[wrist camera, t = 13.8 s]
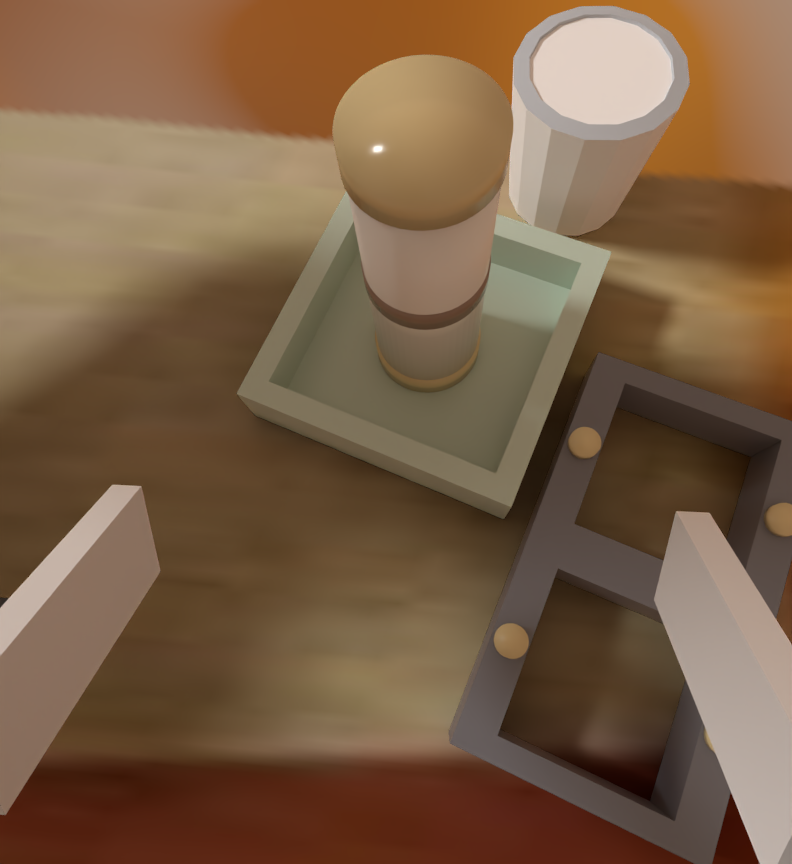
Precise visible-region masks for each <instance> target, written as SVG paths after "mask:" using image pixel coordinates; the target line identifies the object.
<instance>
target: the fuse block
mask: <svg viewBox="0 0 792 864" xmlns="http://www.w3.org/2000/svg"><path fill="white" fill-rule="evenodd" d="M616 407H618V408H620V409H623V410H626V411H628V412H631V413H634V414H636V415H639V416H642V417H645V418H647V419H650V420H653V421H655V422H658V423H661V424H663V425H666V426H669V427H671V428H674V429H677V430H679V431H682V432H685V433H688V434H690V435H693V436H696V437H698V438H701V439H704V440H706V441H709V442H712V443H714V444H717V445H720V446H722V447H725V448H728V449H731V450H733V451H736V452H739V453H741V454H744V455H747V456H749V457H751V458H750V461H749V465H748V468H747V472H746V475H745V479H744V482H743V485H742V489H741V492H740V496H739V499H738V502H737V506H736V509H735V513H734V516H733V519H732V523H731V526H730V530H729V533H728V537H727V542H728V543H729V545H730V546H731V548H732V550H733V551H734V553H735V554H736V556H737V558H738V559H739V561H740V562H741V564H742V566H743V567H744V569H745V570H746V572H747V574H748V575H749V577H750V578H751V580H752V582H753V583H754V585H755V586H756V588H757V590H758V591H759V593H760V594H761V596H762V598H763V599H764V601H765V602H766V604H767V606H768V607H769V609H770V610H771V612H772V614H773V615H774V617H775V618H776V617H777V613H778V610H779V606H780V602H781V598H782V594H783V591H784V587H785V583H786V579H787V575H788V572H789V568H790V564H791V560H792V421H790V420H787V419H784V418H782V417H779V416H776V415H773V414H770V413H768V412H765V411H762V410H759V409H756V408H754V407H751V406H748V405H745V404H742V403H740V402H737V401H734V400H731V399H728V398H726V397H723V396H720V395H717V394H715V393H712V392H709V391H706V390H703V389H701V388H698V387H695V386H692V385H689V384H687V383H684V382H681V381H678V380H675V379H673V378H670V377H667V376H664V375H661V374H659V373H656V372H653V371H650V370H647V369H645V368H642V367H639V366H636V365H634V364H631V363H628V362H625V361H622V360H620V359H617V358H614V357H611V356H608V355H606V354H603V353H600V352H598V354H597V356H596V357H595V359H594V361H593V363H592V364H591V366H590V368H589V369H588V371H587V373H586V374H585V376H584V379H583V382H582V384H581V387H580V389H579V392H578V395H577V397H576V400H575V402H574V405H573V408H572V410H571V413H570V416H569V418H568V421H567V423H566V426H565V429H564V431H563V434H562V436H561V439H560V442H559V444H558V447H557V450H556V452H555V455H554V457H553V460H552V463H551V465H550V468H549V470H548V473H547V476H546V478H545V481H544V484H543V486H542V489H541V491H540V494H539V497H538V499H537V502H536V504H535V507H534V510H533V512H532V515H531V518H530V520H529V523H528V525H527V528H526V531H525V533H524V536H523V538H522V541H521V544H520V546H519V549H518V552H517V554H516V557H515V559H514V562H513V565H512V567H511V570H510V572H509V575H508V578H507V580H506V583H505V586H504V588H503V591H502V593H501V596H500V599H499V601H498V604H497V606H496V609H495V612H494V614H493V617H492V620H491V622H490V625H489V627H488V630H487V633H486V635H485V638H484V640H483V643H482V646H481V648H480V651H479V654H478V656H477V659H476V661H475V664H474V667H473V669H472V672H471V674H470V677H469V680H468V682H467V685H466V688H465V690H464V693H463V695H462V698H461V701H460V703H459V706H458V708H457V711H456V714H455V716H454V719H453V722H452V724H451V727H450V729H449V740H450V744H452V745H454V746H456V747H458V748H460V749H462V750H464V751H466V752H468V753H471V754H473V755H475V756H477V757H479V758H481V759H483V760H485V761H487V762H489V763H491V764H493V765H495V766H497V767H499V768H501V769H503V770H505V771H507V772H509V773H511V774H513V775H515V776H517V777H519V778H521V779H523V780H525V781H527V782H529V783H532V784H534V785H536V786H538V787H540V788H542V789H544V790H546V791H548V792H550V793H552V794H554V795H556V796H558V797H560V798H562V799H564V800H566V801H568V802H570V803H572V804H574V805H576V806H578V807H580V808H582V809H584V810H586V811H588V812H590V813H593V814H595V815H597V816H599V817H601V818H603V819H605V820H607V821H609V822H611V823H613V824H615V825H617V826H619V827H621V828H623V829H625V830H627V831H629V832H631V833H633V834H635V835H637V836H639V837H641V838H643V839H645V840H647V841H649V842H651V843H654V844H656V845H658V846H660V847H662V848H664V849H666V850H668V851H670V852H672V853H674V854H676V855H678V856H680V857H682V858H684V859H686V860H688V861H690V862H692V863H694V864H712V861H713V858H714V854H715V850H716V846H717V842H718V839H719V835H720V831H721V827H722V823H723V819H724V816H725V812H726V808H727V804H728V800H729V797H730V793H731V791H730V788H729V786H728V783H727V781H726V778H725V776H724V773H723V771H722V768H721V766H720V763H719V761H718V758H717V756H716V753H715V751H714V748H713V746H712V743H711V741H710V738H709V736H708V733H707V731H706V729H705V726H704V724H703V721H702V719H701V716H700V714H699V711H698V709H697V706H696V704H695V701H694V699H693V696H692V694H691V691H690V689H689V686H688V684H687V681H686V680H685V683H684V687H683V690H682V694H681V697H680V700H679V704H678V707H677V711H676V714H675V717H674V721H673V724H672V728H671V731H670V735H669V738H668V741H667V745H666V748H665V752H664V755H663V758H662V762H661V765H660V769H659V772H658V776H657V779H656V782H655V786H654V789H653V793H652V796H651V799H650V801H648V800H646V799H644V798H642V797H640V796H638V795H636V794H634V793H632V792H630V791H628V790H625V789H623V788H621V787H619V786H617V785H615V784H613V783H611V782H609V781H607V780H605V779H603V778H601V777H598V776H596V775H594V774H592V773H590V772H588V771H586V770H584V769H582V768H580V767H578V766H576V765H573V764H571V763H569V762H567V761H565V760H563V759H561V758H559V757H557V756H555V755H553V754H551V753H548V752H546V751H544V750H542V749H540V748H538V747H536V746H534V745H532V744H530V743H528V742H526V741H523V740H521V739H519V738H517V737H515V736H513V735H511V734H509V733H507V732H505V731H503V730H501V729H500V727H501V725H502V722H503V719H504V716H505V713H506V711H507V708H508V705H509V702H510V700H511V697H512V694H513V691H514V689H515V686H516V683H517V680H518V678H519V675H520V672H521V669H522V667H523V664H524V661H525V658H526V655H527V653H528V650H529V647H530V644H531V642H532V639H533V636H534V633H535V631H536V628H537V625H538V622H539V620H540V617H541V614H542V611H543V609H544V606H545V603H546V600H547V597H548V595H549V592H550V589H551V586H552V584H553V581H554V578H557V579H560V580H562V581H564V582H567V583H569V584H571V585H574V586H576V587H578V588H581V589H583V590H585V591H588V592H590V593H592V594H595V595H597V596H599V597H602V598H604V599H606V600H609V601H611V602H613V603H616V604H618V605H620V606H623V607H625V608H627V609H630V610H632V611H634V612H637V613H639V614H641V615H644V616H646V617H648V618H651V619H653V620H655V621H658V622H660V623H662V624H663V621H662V619H661V616H660V614H659V611H658V609H657V606H656V604H655V601H654V597H655V593H656V589H657V585H658V581H659V577H660V573H661V569H662V565H663V560H661V559H659V558H656V557H654V556H651V555H649V554H646V553H644V552H642V551H639V550H637V549H634V548H632V547H629V546H627V545H624V544H622V543H620V542H617V541H615V540H612V539H610V538H607V537H605V536H603V535H600V534H598V533H595V532H593V531H590V530H588V529H585V528H583V527H581V526H578V525H576V524H574V523H575V520H576V517H577V515H578V512H579V509H580V506H581V504H582V501H583V498H584V495H585V493H586V490H587V487H588V484H589V481H590V479H591V476H592V473H593V470H594V468H595V465H596V462H597V459H598V457H599V454H600V451H601V448H602V446H603V443H604V440H605V437H606V435H607V432H608V429H609V426H610V423H611V421H612V418H613V415H614V412H615V410H616Z"/></svg>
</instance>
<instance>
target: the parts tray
mask: <svg viewBox="0 0 792 864" xmlns="http://www.w3.org/2000/svg"><path fill="white" fill-rule="evenodd" d="M610 255H611V251H608V250H605V249H602V248H599V247H596V246H593V245H590V244H587V243H584V242H580V241H577V240H574V239H571V238H568V237H565V236H562V235H559V234H556V233H553V232H550V231H547V230H544V229H541V228H538V227H535V226H532V225H529V224H526V223H523V222H520V221H516V220H513V219H510V218H507V217H504V216H501V215H498V214H497V216H496V223H495V229H494V236H493V243H492V249H491V266H490V273H489V279H488V284H487V288H486V291H485V296H484V303H483V310H482V316H481V323H480V330H481V339H480V345H479V351H478V357H477V360H476V363H475V365H474V366H473V368H472V370H471V371H470V373H469V374H468V375H467V376H466V377H465V378H464V379H463V380H462V381H461V382H459V383H458V384H456V385H455V386H453V387H451V388H448V389H446V390H443V391H438V392H430V393H425V392H417V391H412V390H409V389H407V388H404V387H402V386H401V385H399V384H397V383H396V382H395V381H393V380H392V379H391V378H390V377H389V376H388V375H387V373H386V372H385V370H384V369H383V367H382V365H381V363H380V360H379V357H378V352H377V347H376V342H375V326H374V321H373V316H372V311H371V306H370V301H369V296H368V294H367V291H366V288H365V283H364V278H363V273H362V268H361V256H360V251H359V246H358V241H357V236H356V231H355V226H354V221H353V216H352V211H351V206H350V201H349V196H348V193H347V191H346V192H345V194H344V196H343V198H342V200H341V202H340V203H339V205H338V207H337V209H336V211H335V213H334V214H333V216H332V218H331V220H330V222H329V224H328V225H327V227H326V229H325V231H324V233H323V235H322V237H321V238H320V240H319V242H318V244H317V246H316V248H315V249H314V251H313V253H312V255H311V257H310V259H309V261H308V262H307V264H306V266H305V268H304V270H303V272H302V273H301V275H300V277H299V279H298V281H297V283H296V285H295V286H294V288H293V290H292V292H291V294H290V296H289V297H288V299H287V301H286V303H285V305H284V307H283V309H282V310H281V312H280V314H279V316H278V318H277V320H276V321H275V323H274V325H273V327H272V329H271V331H270V333H269V334H268V336H267V338H266V340H265V342H264V344H263V345H262V347H261V349H260V351H259V353H258V355H257V356H256V358H255V360H254V362H253V364H252V366H251V368H250V369H249V371H248V373H247V375H246V377H245V379H244V380H243V382H242V384H241V386H240V388H239V390H238V392H237V393H236V394H237V395H238V396H239V397H240V399H241V400H242V401H243V402H244V403H245V404H246V406H247V407H248V408H249V409H250V410H251V411H252V413H253V414H254V415H255V416H257V417H259V418H262V419H264V420H267V421H269V422H271V423H274V424H276V425H279V426H281V427H283V428H286V429H288V430H291V431H293V432H295V433H298V434H300V435H303V436H305V437H307V438H310V439H312V440H314V441H317V442H319V443H322V444H324V445H326V446H329V447H331V448H334V449H336V450H338V451H341V452H343V453H346V454H348V455H350V456H353V457H355V458H358V459H360V460H362V461H365V462H367V463H370V464H372V465H374V466H377V467H379V468H382V469H384V470H386V471H389V472H391V473H393V474H396V475H398V476H401V477H403V478H405V479H408V480H410V481H413V482H415V483H417V484H420V485H422V486H425V487H427V488H429V489H432V490H434V491H437V492H439V493H441V494H444V495H446V496H449V497H451V498H453V499H456V500H458V501H461V502H463V503H465V504H468V505H470V506H472V507H475V508H477V509H480V510H482V511H484V512H487V513H489V514H492V515H494V516H496V517H499V518H501V519H504V518H505V517H506V515H507V513H508V512H509V510H510V509H511V507H512V504H513V502H514V499H515V497H516V494H517V492H518V489H519V487H520V484H521V481H522V479H523V476H524V474H525V471H526V469H527V466H528V464H529V461H530V459H531V456H532V453H533V451H534V448H535V446H536V443H537V441H538V438H539V436H540V433H541V430H542V428H543V425H544V423H545V420H546V418H547V415H548V413H549V410H550V408H551V405H552V402H553V400H554V397H555V395H556V392H557V390H558V387H559V385H560V382H561V380H562V377H563V374H564V372H565V369H566V367H567V364H568V362H569V359H570V357H571V354H572V352H573V349H574V346H575V344H576V341H577V339H578V336H579V334H580V331H581V329H582V326H583V324H584V321H585V318H586V316H587V313H588V311H589V308H590V306H591V303H592V301H593V298H594V296H595V293H596V290H597V288H598V285H599V283H600V280H601V278H602V275H603V273H604V270H605V267H606V265H607V262H608V260H609V257H610Z"/></svg>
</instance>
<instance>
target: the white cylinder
mask: <svg viewBox="0 0 792 864" xmlns="http://www.w3.org/2000/svg"><path fill="white" fill-rule="evenodd" d="M689 84H690V83H689V73H688V63H687V57H686V55H685V53H684V52H683V50H682V49H681V47H680V46H679V44H678V43H677V41H676V39H675V38H674V36H673V35H672V33H670V32H669V31H668V30H666V29H665V28H663V27H662V26H660V25H659V24H657V23H656V22H654V21H653V20H652V19H650V18H649V17H647V16H646V15H643V14H639V13H636V12H632V11H629V10H625V9H621V8H619V7H615V6H581V7H577V8H574V9H571V10H568V11H564V12H561V13H559V14H555V15H552V16H550V17H549V18H547V19H546V20H544V21H543V22H542V23H540V24H539V25H538V26H536V27H535V28H534V29H532V30H531V31H530V32H529V33H527V34H526V36H525V38H524V40H523V41H522V43H521V45H520V47H519V49H518V50H517V52H516V54H515V56H514V63H513V91H512V114H513V136H512V142H511V148H510V173H509V197H510V199H511V201H512V203H513V206H514V208H515V210H516V212H517V214H518V215H519V216H521V217H522V218H523V219H524V220H525V221H526V222H528V223H529V224H530V225H532V226H535V227H538V228H541V229H544V230H547V231H550V232H553V233H556V234H559V235H564V236H578V235H581V234H584V233H587V232H590V231H593V230H596V229H599V228H600V227H601V226H603V225H604V224H605V223H606V222H607V221H608V220H610V219H611V218H612V217H613V216H614V215H615V214H616V212H617V210H618V209H619V207H620V205H621V204H622V202H623V200H624V199H625V197H626V195H627V194H628V192H629V190H630V189H631V187H632V185H633V184H634V182H635V180H636V179H637V177H638V175H639V174H640V172H641V170H642V169H643V167H644V165H645V164H646V162H647V160H648V159H649V157H650V155H651V154H652V152H653V150H654V149H655V147H656V145H657V144H658V142H659V140H660V139H661V137H662V136H663V134H664V132H665V131H666V129H667V127H668V126H669V124H670V122H671V121H672V119H673V117H674V116H675V114H676V112H677V111H678V109H679V107H680V104H681V102H682V100H683V97H684V95H685V93H686V90H687V89H688V86H689Z"/></svg>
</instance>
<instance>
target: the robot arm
mask: <svg viewBox="0 0 792 864" xmlns="http://www.w3.org/2000/svg"><path fill="white" fill-rule="evenodd" d="M160 572H161V571H160V566H159V562H158V558H157V553H156V549H155V544H154V540H153V535H152V531H151V526H150V522H149V517H148V513H147V508H146V504H145V500H144V495H143V491H142V486H130V485H112V486H111V487H110V488H109V489H108V490H107V491H106V492H105V493H104V494H103V496H102V497H101V498H100V499H99V500H98V501H97V502H96V503H95V504H94V505H93V507H92V508H91V509H90V510H89V511H88V512H87V513H86V514H85V515H84V516H83V517H82V519H81V520H80V521H79V522H78V523H77V524H76V525H75V526H74V527H73V528H72V530H71V531H70V532H69V533H68V534H67V535H66V536H65V537H64V538H63V539H62V541H61V542H60V543H59V544H58V545H57V546H56V547H55V548H54V549H53V550H52V552H51V553H50V554H49V555H48V556H47V557H46V558H45V559H44V560H43V561H42V563H41V564H40V565H39V566H38V567H37V568H36V569H35V570H34V571H33V572H32V574H31V575H30V576H29V577H28V578H27V579H26V580H25V581H24V582H23V583H22V585H21V586H20V587H19V588H18V589H17V590H16V591H15V592H14V593H13V594H12V595H11V597H10V598H0V815H6V814H7V812H8V810H9V809H10V807H11V806H12V804H13V803H14V801H15V799H16V798H17V796H18V795H19V793H20V792H21V790H22V788H23V787H24V785H25V784H26V782H27V781H28V779H29V777H30V776H31V774H32V773H33V771H34V770H35V768H36V766H37V765H38V763H39V762H40V760H41V759H42V757H43V755H44V754H45V752H46V751H47V749H48V748H49V746H50V744H51V743H52V741H53V740H54V738H55V737H56V735H57V733H58V732H59V730H60V729H61V727H62V726H63V724H64V722H65V721H66V719H67V718H68V716H69V715H70V713H71V711H72V710H73V708H74V707H75V705H76V704H77V702H78V700H79V699H80V697H81V696H82V694H83V693H84V691H85V689H86V688H87V686H88V685H89V683H90V682H91V680H92V678H93V677H94V675H95V674H96V672H97V671H98V669H99V667H100V666H101V664H102V663H103V661H104V660H105V658H106V656H107V655H108V653H109V652H110V650H111V649H112V647H113V645H114V644H115V642H116V641H117V639H118V638H119V636H120V634H121V633H122V631H123V630H124V628H125V627H126V625H127V623H128V622H129V620H130V619H131V617H132V616H133V614H134V612H135V611H136V609H137V608H138V606H139V605H140V603H141V601H142V600H143V598H144V597H145V595H146V594H147V592H148V590H149V589H150V587H151V586H152V584H153V583H154V581H155V579H156V578H157V576H158V575H159V573H160ZM654 601H655V604H656V606H657V609H658V611H659V614H660V616H661V619H662V621H663V624H664V626H665V629H666V631H667V634H668V636H669V639H670V641H671V644H672V646H673V649H674V651H675V654H676V656H677V659H678V661H679V664H680V666H681V669H682V671H683V674H684V676H685V679H686V681H687V684H688V686H689V689H690V691H691V694H692V696H693V699H694V701H695V704H696V706H697V709H698V711H699V714H700V716H701V719H702V721H703V724H704V726H705V729H706V731H707V733H708V736H709V738H710V741H711V743H712V746H713V748H714V751H715V753H716V756H717V758H718V761H719V763H720V766H721V768H722V771H723V773H724V776H725V778H726V781H727V783H728V786H729V788H730V791H731V793H732V796H733V798H734V801H735V803H736V806H737V808H738V811H739V813H740V816H741V818H742V821H743V823H744V826H745V828H746V831H747V833H748V836H749V838H750V841H751V843H752V846H753V848H754V851H755V853H756V856H757V858H758V861H759V863H760V864H792V644H791V643H790V641H789V639H788V638H787V636H786V635H785V633H784V631H783V630H782V628H781V626H780V625H779V623H778V622H777V620H776V618H775V617H774V615H773V614H772V612H771V610H770V609H769V607H768V606H767V604H766V602H765V601H764V599H763V598H762V596H761V594H760V593H759V591H758V590H757V588H756V586H755V585H754V583H753V582H752V580H751V578H750V577H749V575H748V574H747V572H746V570H745V569H744V567H743V566H742V564H741V562H740V561H739V559H738V558H737V556H736V554H735V553H734V551H733V550H732V548H731V546H730V545H729V543H728V542H727V540H726V538H725V537H724V535H723V534H722V532H721V530H720V529H719V527H718V526H717V524H716V522H715V521H714V519H713V518H712V516H711V514H710V513H706V512H685V511H676V513H675V517H674V521H673V525H672V529H671V533H670V537H669V541H668V545H667V549H666V553H665V557H664V561H663V565H662V569H661V573H660V577H659V581H658V585H657V589H656V593H655V597H654Z"/></svg>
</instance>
